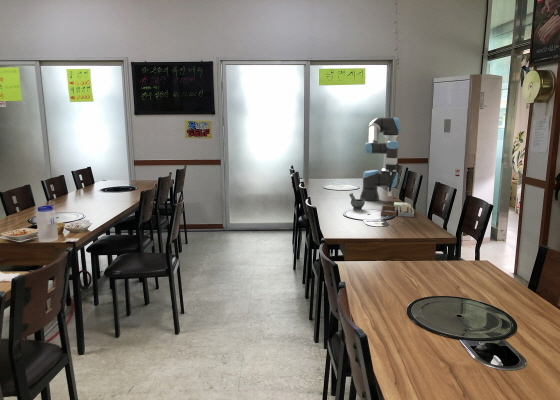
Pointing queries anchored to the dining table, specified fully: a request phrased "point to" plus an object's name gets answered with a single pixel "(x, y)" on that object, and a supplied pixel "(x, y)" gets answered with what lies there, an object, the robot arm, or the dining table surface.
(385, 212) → the tray walnut
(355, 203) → the mortar and pestle
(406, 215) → the tray grey
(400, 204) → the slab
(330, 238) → the dining table surface
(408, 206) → the letter cube
